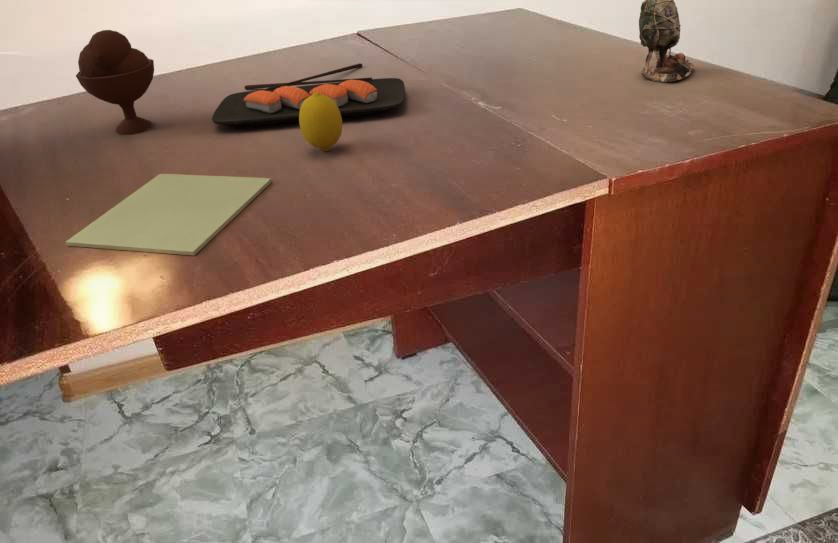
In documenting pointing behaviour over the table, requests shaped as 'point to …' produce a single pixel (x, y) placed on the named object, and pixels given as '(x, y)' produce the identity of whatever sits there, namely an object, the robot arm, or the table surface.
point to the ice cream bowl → (116, 76)
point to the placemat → (171, 214)
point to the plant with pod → (662, 41)
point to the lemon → (320, 121)
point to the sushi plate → (286, 100)
